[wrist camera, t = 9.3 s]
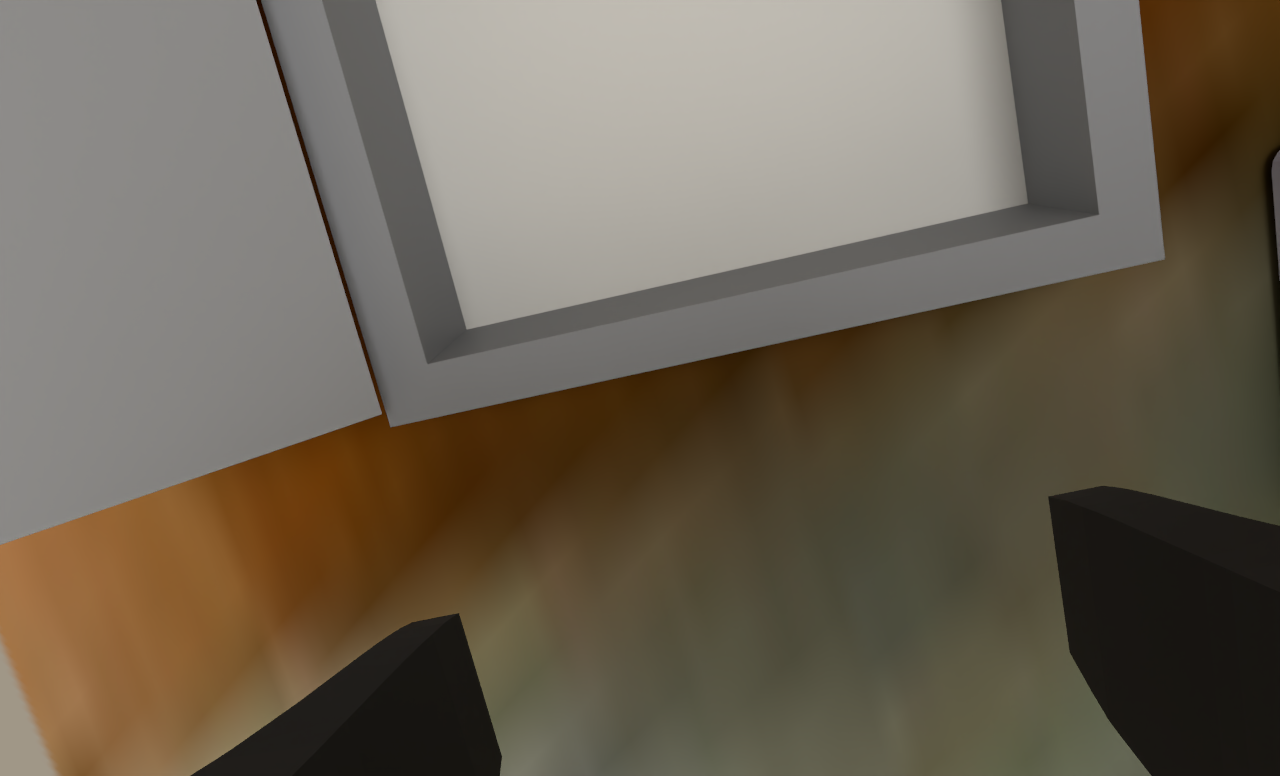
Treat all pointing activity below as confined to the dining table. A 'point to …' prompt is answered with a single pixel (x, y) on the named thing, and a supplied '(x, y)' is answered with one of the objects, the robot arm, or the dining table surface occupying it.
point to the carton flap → (156, 258)
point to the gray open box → (703, 172)
